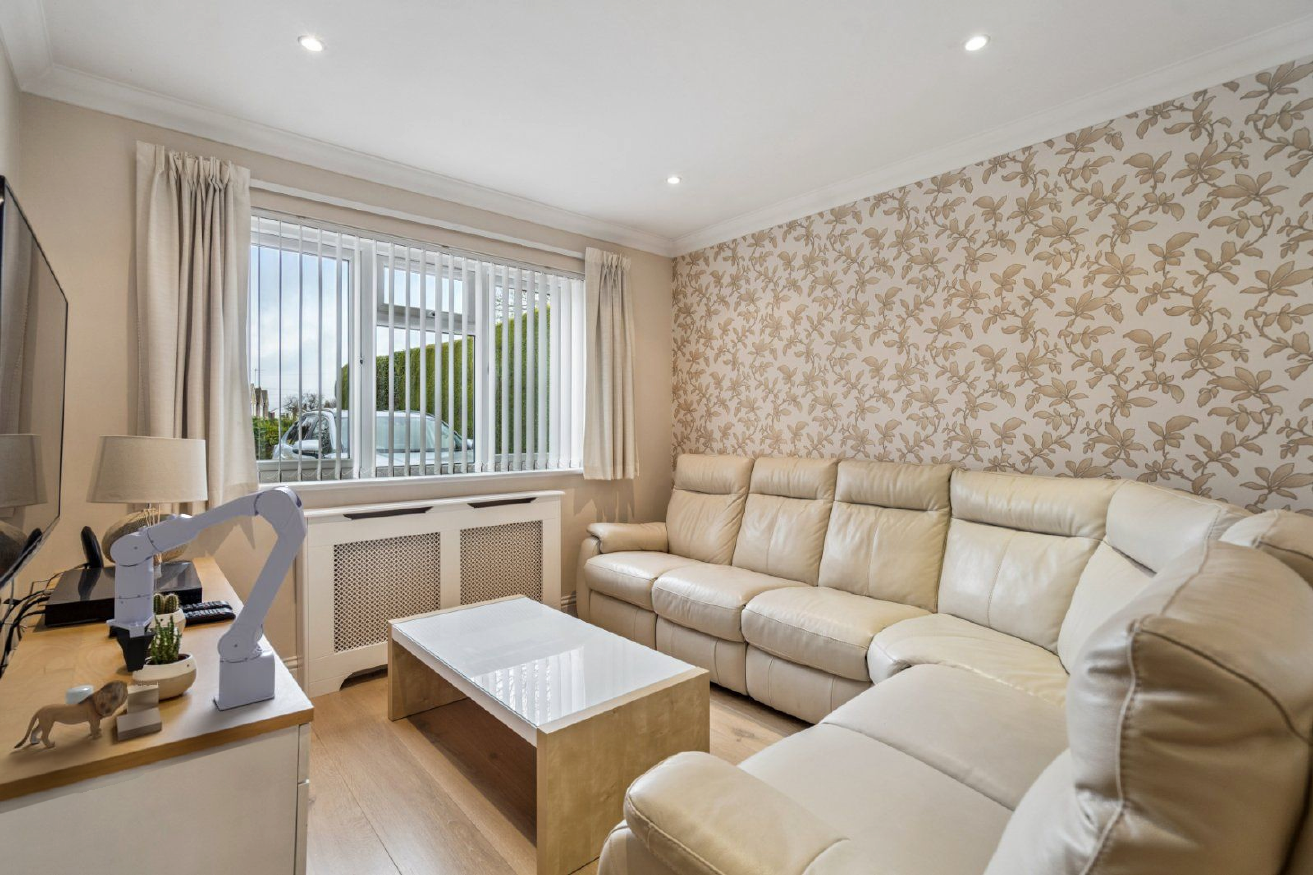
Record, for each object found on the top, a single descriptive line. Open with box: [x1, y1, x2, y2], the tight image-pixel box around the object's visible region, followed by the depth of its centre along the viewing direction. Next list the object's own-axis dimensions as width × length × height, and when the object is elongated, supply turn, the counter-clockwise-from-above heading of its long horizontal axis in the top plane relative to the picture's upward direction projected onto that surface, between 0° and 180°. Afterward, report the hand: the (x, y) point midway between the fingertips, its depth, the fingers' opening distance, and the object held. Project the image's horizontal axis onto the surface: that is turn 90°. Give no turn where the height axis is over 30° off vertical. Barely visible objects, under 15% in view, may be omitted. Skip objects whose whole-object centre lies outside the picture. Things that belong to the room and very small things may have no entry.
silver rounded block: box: [65, 684, 94, 704], centre depth 121 cm, size 4×4×3 cm
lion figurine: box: [13, 679, 128, 749], centre depth 108 cm, size 15×5×9 cm, turn 130°
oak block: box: [126, 683, 160, 714], centre depth 120 cm, size 4×4×4 cm
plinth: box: [115, 706, 163, 741], centre depth 112 cm, size 6×8×2 cm
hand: (133, 664), depth 118 cm, fingers open, 7 cm apart
